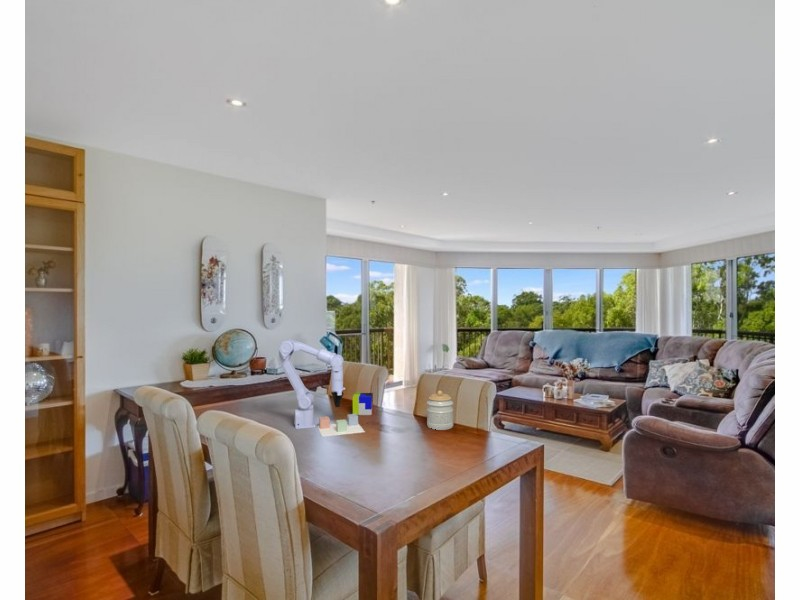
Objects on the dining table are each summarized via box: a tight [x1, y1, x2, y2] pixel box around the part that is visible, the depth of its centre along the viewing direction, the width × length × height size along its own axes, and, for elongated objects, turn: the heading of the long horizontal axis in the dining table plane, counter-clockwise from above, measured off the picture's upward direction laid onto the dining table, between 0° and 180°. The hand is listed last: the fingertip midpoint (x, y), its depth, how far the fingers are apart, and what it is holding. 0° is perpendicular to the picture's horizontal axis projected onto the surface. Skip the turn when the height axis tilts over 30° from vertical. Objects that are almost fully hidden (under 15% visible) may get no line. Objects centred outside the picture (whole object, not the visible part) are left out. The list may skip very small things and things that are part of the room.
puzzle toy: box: [352, 392, 374, 416], centre depth 235 cm, size 10×10×10 cm
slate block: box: [346, 413, 359, 426], centre depth 213 cm, size 4×4×4 cm
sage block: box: [335, 419, 347, 432], centre depth 203 cm, size 4×4×4 cm
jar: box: [426, 390, 454, 431], centre depth 209 cm, size 13×13×18 cm
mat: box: [317, 423, 366, 438], centre depth 206 cm, size 20×18×1 cm
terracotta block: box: [318, 415, 331, 429], centre depth 208 cm, size 4×4×4 cm
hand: (337, 406), depth 211 cm, fingers closed
